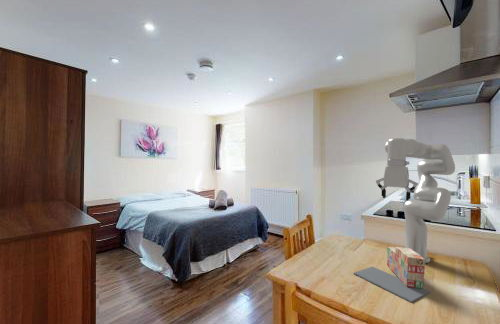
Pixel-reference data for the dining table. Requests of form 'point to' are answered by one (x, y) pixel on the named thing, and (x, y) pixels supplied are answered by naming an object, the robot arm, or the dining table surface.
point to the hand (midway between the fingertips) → (395, 199)
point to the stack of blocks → (407, 266)
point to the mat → (391, 284)
